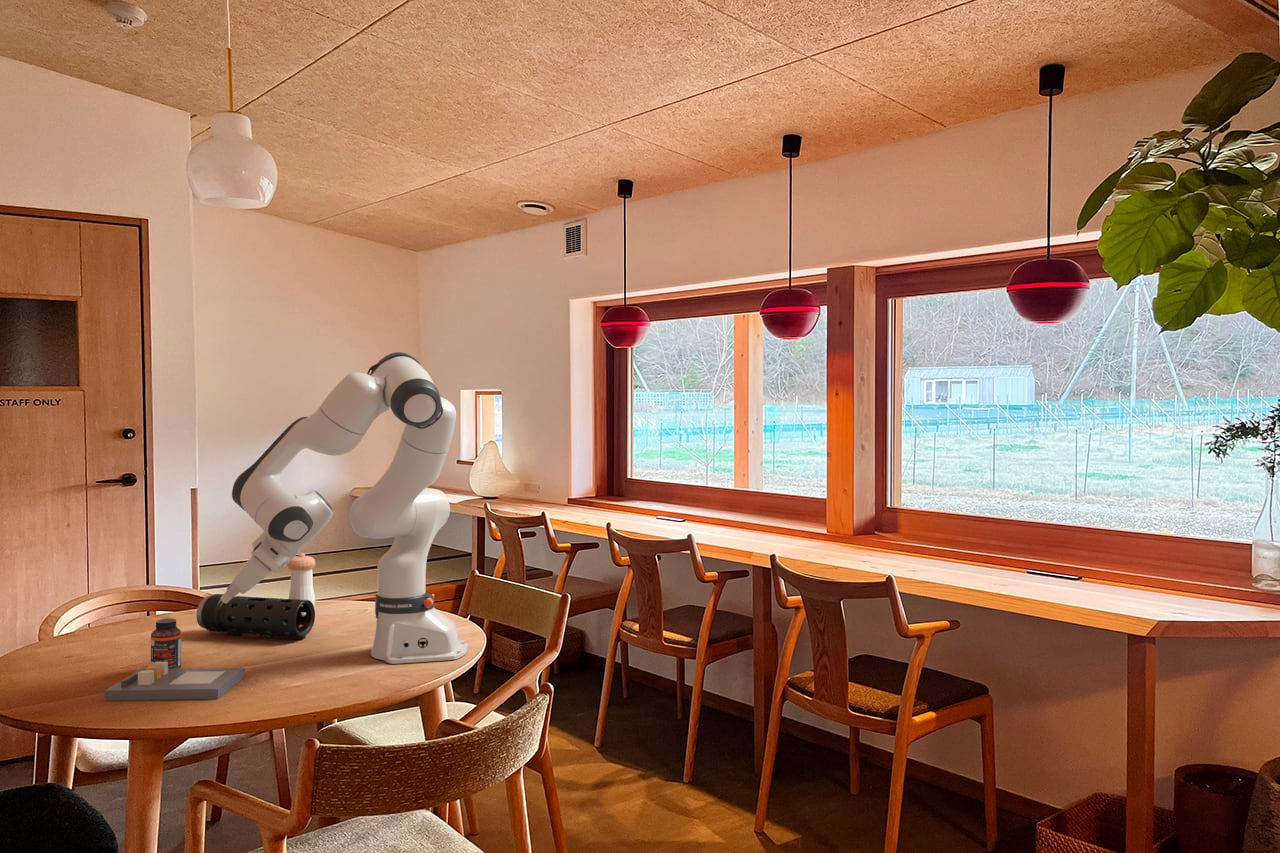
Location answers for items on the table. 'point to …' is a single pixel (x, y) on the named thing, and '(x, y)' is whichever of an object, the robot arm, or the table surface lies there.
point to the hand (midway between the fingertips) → (225, 596)
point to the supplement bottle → (166, 643)
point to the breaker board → (175, 683)
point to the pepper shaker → (302, 579)
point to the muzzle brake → (257, 616)
